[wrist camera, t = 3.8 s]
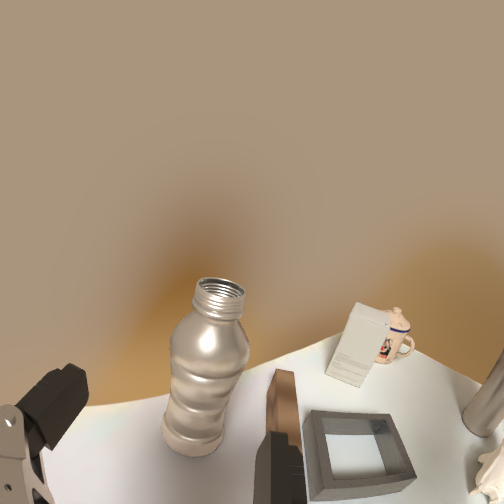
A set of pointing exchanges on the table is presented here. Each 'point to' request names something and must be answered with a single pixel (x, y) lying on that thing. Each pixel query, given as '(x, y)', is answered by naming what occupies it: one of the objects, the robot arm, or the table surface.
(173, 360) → the silver bottle
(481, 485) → the white piece
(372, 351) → the supplement box
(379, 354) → the teacup with lid
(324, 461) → the keeper
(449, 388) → the table surface
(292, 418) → the wooden plank
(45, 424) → the robot arm
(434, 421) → the table surface
